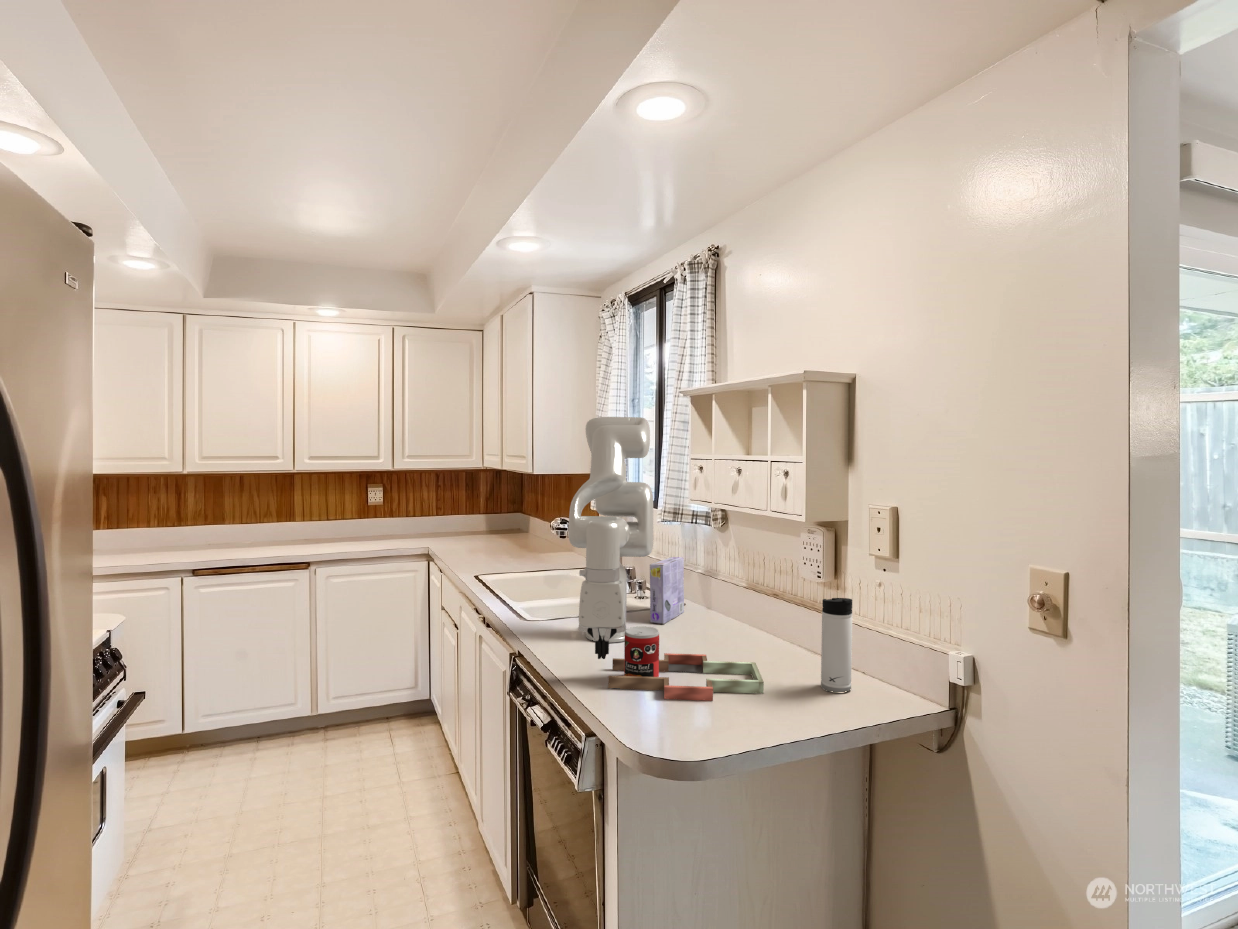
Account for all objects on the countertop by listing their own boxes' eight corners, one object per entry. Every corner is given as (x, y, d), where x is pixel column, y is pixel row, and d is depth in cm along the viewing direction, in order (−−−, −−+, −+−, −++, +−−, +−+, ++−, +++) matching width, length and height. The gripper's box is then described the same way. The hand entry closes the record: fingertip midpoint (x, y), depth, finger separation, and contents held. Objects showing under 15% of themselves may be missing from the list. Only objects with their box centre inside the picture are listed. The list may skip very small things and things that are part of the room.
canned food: (619, 683, 149) (619, 633, 149) (631, 672, 157) (631, 624, 156) (652, 687, 146) (653, 637, 146) (663, 676, 154) (663, 628, 154)
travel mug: (835, 696, 142) (837, 601, 142) (814, 685, 148) (816, 595, 148) (858, 692, 145) (860, 599, 144) (837, 682, 151) (838, 592, 150)
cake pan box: (671, 609, 217) (672, 554, 217) (686, 611, 215) (686, 556, 215) (648, 623, 200) (648, 564, 200) (663, 625, 198) (664, 565, 197)
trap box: (606, 697, 141) (606, 685, 140) (614, 662, 163) (614, 652, 163) (767, 702, 138) (767, 690, 138) (752, 666, 161) (752, 655, 161)
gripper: (567, 577, 148) (566, 661, 148) (635, 579, 147) (634, 663, 147) (571, 572, 156) (571, 651, 156) (636, 573, 155) (635, 653, 155)
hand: (601, 657), depth 152 cm, fingers closed
